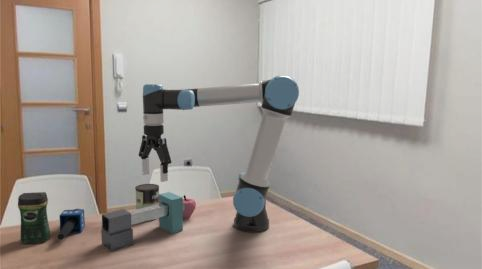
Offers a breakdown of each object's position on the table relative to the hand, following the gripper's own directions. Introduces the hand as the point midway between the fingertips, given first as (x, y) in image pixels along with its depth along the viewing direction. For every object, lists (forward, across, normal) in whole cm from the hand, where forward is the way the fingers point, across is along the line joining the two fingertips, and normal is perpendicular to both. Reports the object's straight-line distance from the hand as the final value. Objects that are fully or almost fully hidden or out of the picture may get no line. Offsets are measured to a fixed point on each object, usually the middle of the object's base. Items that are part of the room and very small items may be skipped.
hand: (154, 178), depth 144 cm
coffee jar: (+23, -24, -37) cm, 50 cm away
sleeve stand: (+23, 0, -16) cm, 28 cm away
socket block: (+23, 0, +7) cm, 24 cm away
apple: (+23, -6, +19) cm, 30 cm away
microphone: (+23, -22, -25) cm, 41 cm away
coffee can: (+23, -18, +7) cm, 30 cm away
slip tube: (+16, 0, -4) cm, 16 cm away
